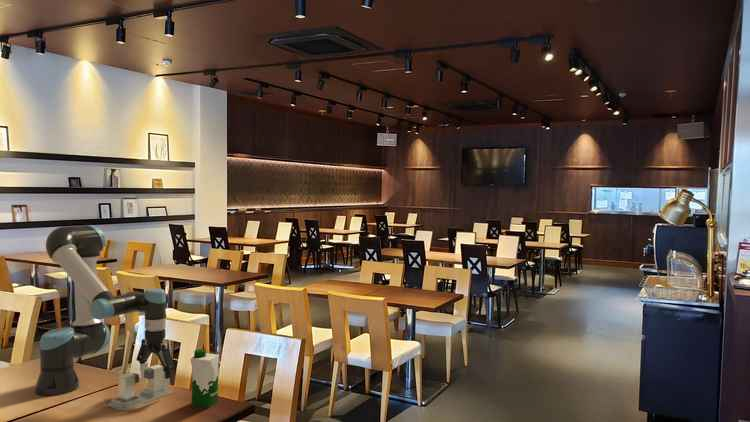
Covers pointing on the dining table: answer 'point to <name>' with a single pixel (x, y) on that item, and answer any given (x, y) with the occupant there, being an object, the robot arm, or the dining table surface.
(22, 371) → the dining table surface
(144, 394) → the rail
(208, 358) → the milk carton
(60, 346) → the robot arm
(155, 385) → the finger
